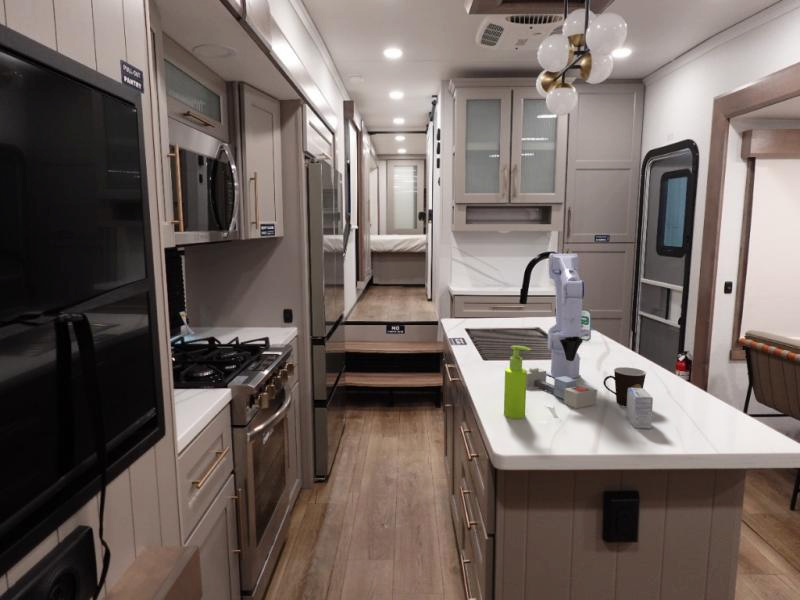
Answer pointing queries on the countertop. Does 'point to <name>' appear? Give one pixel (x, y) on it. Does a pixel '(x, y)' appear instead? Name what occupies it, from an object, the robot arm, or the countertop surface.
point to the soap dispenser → (515, 385)
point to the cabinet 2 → (580, 397)
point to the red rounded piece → (580, 389)
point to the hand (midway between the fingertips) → (569, 360)
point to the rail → (544, 385)
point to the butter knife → (553, 412)
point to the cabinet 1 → (535, 376)
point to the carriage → (563, 385)
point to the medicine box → (639, 408)
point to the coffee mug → (626, 382)
